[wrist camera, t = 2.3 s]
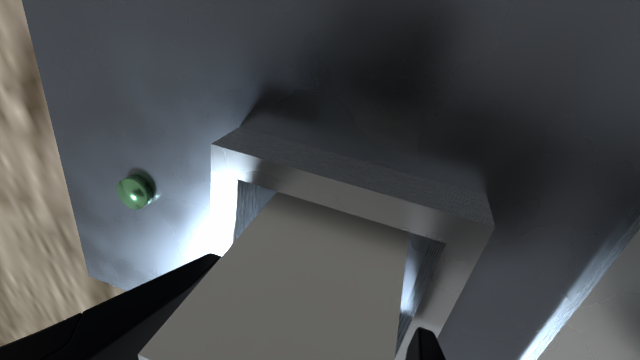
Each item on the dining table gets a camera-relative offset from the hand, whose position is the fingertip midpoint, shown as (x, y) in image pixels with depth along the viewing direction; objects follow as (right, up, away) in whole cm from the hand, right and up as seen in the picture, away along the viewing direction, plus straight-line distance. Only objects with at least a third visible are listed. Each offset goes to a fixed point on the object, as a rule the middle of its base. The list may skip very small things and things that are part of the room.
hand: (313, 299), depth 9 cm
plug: (+1, +1, +2) cm, 2 cm away
